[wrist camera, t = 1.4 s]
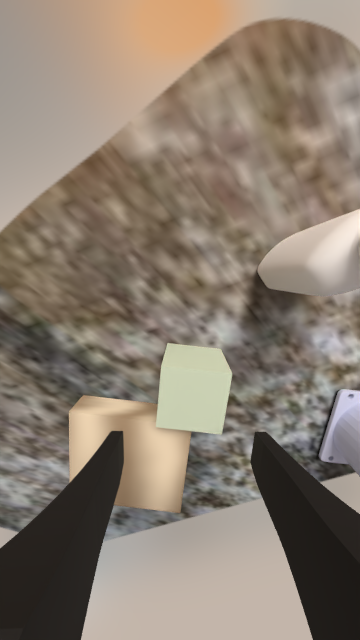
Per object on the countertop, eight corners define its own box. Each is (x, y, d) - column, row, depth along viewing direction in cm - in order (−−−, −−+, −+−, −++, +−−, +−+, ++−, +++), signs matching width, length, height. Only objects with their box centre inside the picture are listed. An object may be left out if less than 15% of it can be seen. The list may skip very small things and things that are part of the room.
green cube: (220, 348, 19) (232, 373, 14) (213, 396, 20) (221, 434, 15) (167, 342, 19) (161, 366, 14) (163, 390, 20) (155, 427, 15)
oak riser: (191, 404, 21) (192, 426, 18) (180, 482, 23) (180, 513, 20) (85, 392, 21) (68, 411, 18) (84, 471, 23) (70, 499, 20)
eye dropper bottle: (322, 281, 18) (599, 295, 6) (256, 290, 18) (390, 320, 6) (323, 227, 17) (653, 113, 5) (253, 237, 17) (404, 153, 5)
